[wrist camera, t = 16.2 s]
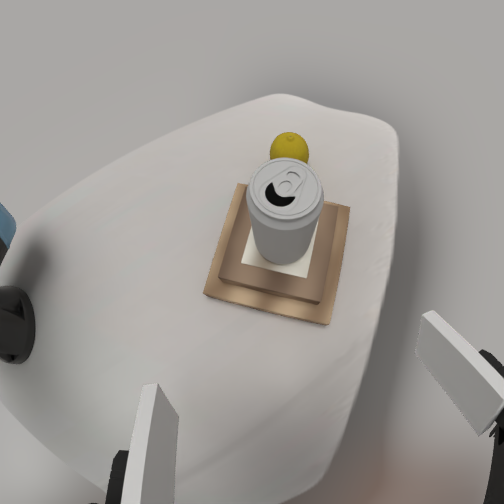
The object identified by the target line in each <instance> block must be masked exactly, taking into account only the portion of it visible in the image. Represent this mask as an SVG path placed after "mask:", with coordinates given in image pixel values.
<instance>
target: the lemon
mask: <svg viewBox="0 0 504 504" xmlns="http://www.w3.org/2000/svg"><path fill="white" fill-rule="evenodd" d="M276 158H293V159H297V160H300V161H302V162H304V163H306V164H307V162H308V158H309V151H308V146H307V144H306V141H305V140H304V139H303V138H302V137H301V136H300V135H298V134H296V133H292V132H286V133H282V134H280V135H279V136H277V137H276V138H275V140H274V141H273V143H272V145H271V149H270V159H271V160H272V159H276Z"/></svg>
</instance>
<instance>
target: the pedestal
mask: <svg viewBox="0 0 504 504" xmlns="http://www.w3.org/2000/svg"><path fill="white" fill-rule="evenodd" d="M247 187H248V185H246V184H240V183H238V184H237V187H236V190H235V193H234V196H233V199H232V202H231V205H230V208H229V211H228V214H227V217H226V220H225V223H224V226H223V230H222V233H221V236H220V239H219V242H218V245H217V249H216V252H215V255H214V258H213V261H212V265H211V268H210V271H209V275H208V278H207V281H206V284H205V288H204V291H203V294H205V295H206V296H208V297H212V298H216V299H219V300H223V301H227V302H230V303H234V304H238V305H242V306H246V307H249V308H253V309H257V310H261V311H265V312H269V313H273V314H278V315H282V316H286V317H290V318H294V319H299V320H303V321H308V322H312V323H317V324H321V325H329V324H330V319H331V315H332V310H333V305H334V301H335V296H336V291H337V286H338V281H339V275H340V270H341V264H342V258H343V252H344V246H345V240H346V233H347V227H348V219H349V212H350V207H348V206H344V205H340V204H335V203H331V202H327V201H324V203H323V207H322V210H321V213H320V216H319V219H318V222H317V225H316V228H315V231H314V234H313V237H312V239H311V242H310V245H309V248H308V250H307V251H306V253H305V254H304V255H303V256H302V257H301V258H300V259H298V260H297V261H295V262H292V263H288V264H277V263H273V262H271V261H269V260H267V259H266V258H264V257H263V256H262V255H261V254H260V252H259V251H258V249H257V247H256V245H255V240H254V235H253V230H252V225H251V220H250V215H249V210H248V205H247V200H246V191H247Z"/></svg>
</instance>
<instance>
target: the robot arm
mask: <svg viewBox="0 0 504 504" xmlns="http://www.w3.org/2000/svg"><path fill="white" fill-rule="evenodd" d="M15 232H16V222H15V220H14V218H13V217H12V215H11V214H10V213H9V212H8V211H7V210H6V208H5V207H4V206H3V205H2V204H1V203H0V265H1V263H2V261H3V259H4V257H5V255H6V253H7V251H8V250H9V248H10V243H11V241H12V239H13V237H14V234H15ZM34 336H35V320H34V313H33V308H32V305H31V302H30V300H29V298H28V296H27V295H26V293H25V292H24V291H23V290H21V289H19V288H16V287H13V286H2V287H0V360H2V361H4V362H6V363H10V364H20V363H22V362H24V361H25V360H26V359H27V358H28V356H29V354H30V352H31V350H32V347H33V342H34ZM415 355H416V356H417V357H418V358H419V360H420V361H421V362H422V363H423V364H424V366H425V367H426V368H427V369H428V370H429V372H430V373H431V374H432V376H433V377H434V378H435V379H436V381H437V382H438V383H439V384H440V386H441V387H442V388H443V389H444V391H445V392H446V393H447V395H448V396H449V397H450V398H451V400H452V401H453V402H454V404H455V405H456V406H457V408H458V409H459V410H460V412H461V413H462V414H463V416H464V417H465V418H466V420H467V421H468V422H469V424H470V425H471V427H472V428H473V429H474V431H475V432H476V433H477V435H478V436H480V435H481V434H482V433H484V432H485V431H486V430H487V429H489V428H490V427H491V425H492V424H493V422H494V421H496V422H497V425H496V426H495V427H494V428H493V430H492V431H491V432H490V435H489V437H491V436H492V435H493V434H494V432H495V435H494V437H495V439H494V450H493V457H492V464H491V471H490V476H489V481H488V486H487V491H486V495H485V499H484V503H483V504H504V366H502V364H501V363H500V362H499V361H497V359H496V358H495V357H494V356H493V355H492V354H491V353H489V352H487V351H485V350H481V351H479V352H477V351H476V350H475V349H474V348H473V347H472V346H471V345H470V344H469V343H468V342H467V341H466V340H465V339H464V338H463V337H462V336H461V335H460V334H459V333H458V332H457V331H455V330H454V329H453V328H452V327H451V326H450V325H449V324H448V323H447V322H446V321H445V320H443V319H442V318H441V317H440V316H439V315H438V314H437V313H436V312H435V311H434V310H431V311H429V312H427V313H425V314H422V317H421V323H420V329H419V335H418V340H417V345H416V350H415ZM178 422H179V416H178V414H177V413H176V411H175V410H174V408H173V407H172V405H171V404H170V402H169V401H168V399H167V397H166V396H165V394H164V393H163V391H162V389H161V388H160V386H159V384H158V383H155V384H145V385H143V389H142V393H141V397H140V401H139V406H138V410H137V415H136V420H135V424H134V429H133V434H132V439H131V444H130V449H129V451H124V450H119V451H118V453H117V454H116V456H115V458H114V459H113V464H112V468H111V469H112V471H111V474H110V479H109V484H108V490H107V496H106V502H105V504H174V489H175V466H176V449H177V435H178ZM91 504H97V503H91Z"/></svg>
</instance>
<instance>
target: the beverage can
mask: <svg viewBox="0 0 504 504" xmlns="http://www.w3.org/2000/svg"><path fill="white" fill-rule="evenodd" d="M246 200H247V205H248V210H249V215H250V220H251V225H252V230H253V235H254V240H255V245H256V247H257V249H258V251H259V252H260V254H261V255H262V256H263V257H264V258H266V259H267V260H269V261H271V262H273V263H277V264H288V263H292V262H295V261H297V260H298V259H300V258H301V257H302V256H303V255H304V254H305V253H306V251H307V250H308V248H309V245H310V242H311V239H312V237H313V234H314V231H315V228H316V225H317V222H318V219H319V216H320V213H321V210H322V207H323V203H324V192H323V188H322V186H321V182H320V179H319V177H318V175H317V173H316V172H315V171H314V170H313V169H312V168H311V167H310V166H309V165H307V164H306V163H304V162H302V161H300V160H297V159H293V158H276V159H272V160H269V161H267V162H265V163H264V164H262V165H261V166H260V167H258V168H257V169H256V171H255V172H254V173H253V175H252V177H251V180H250V182H249V184H248V187H247V191H246Z"/></svg>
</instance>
